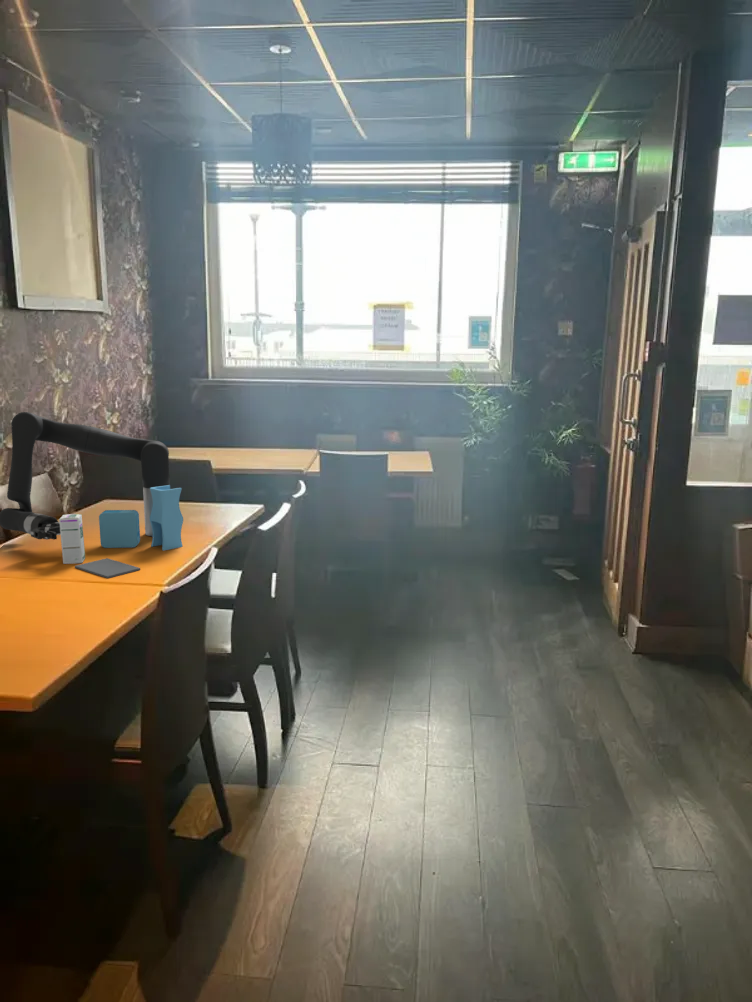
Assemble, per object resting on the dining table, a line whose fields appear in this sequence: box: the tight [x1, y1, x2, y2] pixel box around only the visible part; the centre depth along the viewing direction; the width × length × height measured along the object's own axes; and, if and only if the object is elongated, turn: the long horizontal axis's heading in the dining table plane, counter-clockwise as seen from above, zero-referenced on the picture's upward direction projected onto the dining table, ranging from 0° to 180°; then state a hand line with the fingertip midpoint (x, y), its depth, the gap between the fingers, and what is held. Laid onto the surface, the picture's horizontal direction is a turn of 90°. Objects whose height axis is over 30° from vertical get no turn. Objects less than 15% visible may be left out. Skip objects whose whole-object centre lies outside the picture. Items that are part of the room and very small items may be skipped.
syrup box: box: [58, 513, 86, 565], centre depth 227 cm, size 6×6×14 cm
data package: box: [98, 509, 141, 549], centre depth 246 cm, size 12×4×12 cm, turn 96°
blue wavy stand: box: [150, 484, 184, 551], centre depth 245 cm, size 8×8×20 cm
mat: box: [74, 557, 141, 579], centre depth 221 cm, size 17×11×1 cm, turn 53°
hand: (68, 533), depth 228 cm, fingers open, 8 cm apart
